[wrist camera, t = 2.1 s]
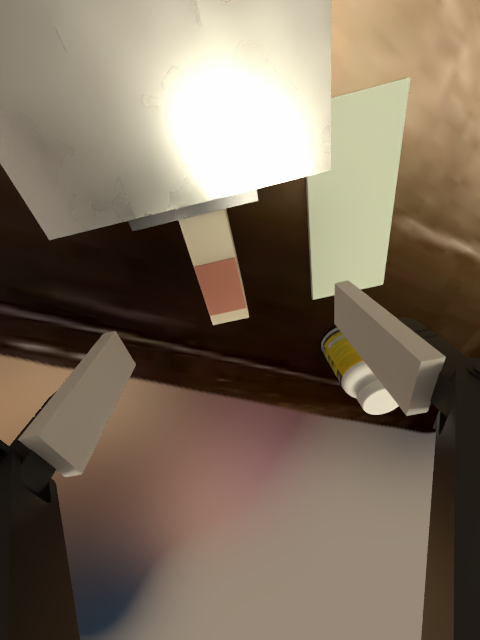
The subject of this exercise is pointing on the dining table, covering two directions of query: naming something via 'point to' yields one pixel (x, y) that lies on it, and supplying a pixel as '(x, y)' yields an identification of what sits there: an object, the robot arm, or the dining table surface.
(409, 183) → the dining table surface
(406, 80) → the pad
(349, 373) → the supplement bottle
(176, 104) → the plate
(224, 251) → the cream rectangular block
